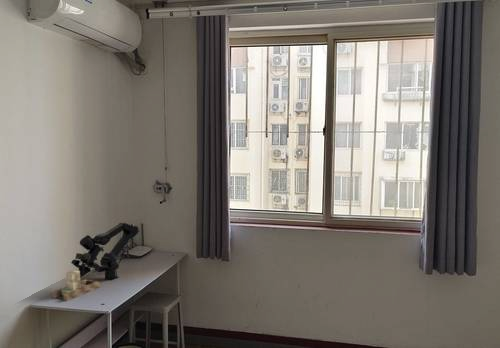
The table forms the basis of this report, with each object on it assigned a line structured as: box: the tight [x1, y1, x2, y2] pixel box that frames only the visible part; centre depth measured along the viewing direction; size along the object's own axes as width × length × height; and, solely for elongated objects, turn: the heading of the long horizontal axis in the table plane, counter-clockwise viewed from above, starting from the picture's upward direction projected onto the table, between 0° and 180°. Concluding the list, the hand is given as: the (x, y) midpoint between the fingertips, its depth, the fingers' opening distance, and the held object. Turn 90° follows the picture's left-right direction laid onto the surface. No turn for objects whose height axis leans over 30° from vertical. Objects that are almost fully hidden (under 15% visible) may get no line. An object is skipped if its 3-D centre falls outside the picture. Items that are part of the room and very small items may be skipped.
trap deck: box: [51, 279, 101, 302], centre depth 236 cm, size 22×12×3 cm, turn 151°
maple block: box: [65, 269, 82, 290], centre depth 235 cm, size 5×5×9 cm
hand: (77, 278), depth 237 cm, fingers closed
